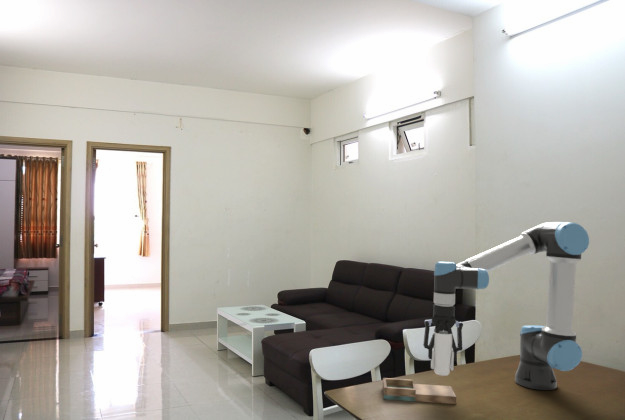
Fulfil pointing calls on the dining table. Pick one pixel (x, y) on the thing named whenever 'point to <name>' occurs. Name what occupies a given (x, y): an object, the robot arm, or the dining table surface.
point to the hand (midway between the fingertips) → (441, 368)
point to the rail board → (417, 391)
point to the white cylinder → (442, 353)
